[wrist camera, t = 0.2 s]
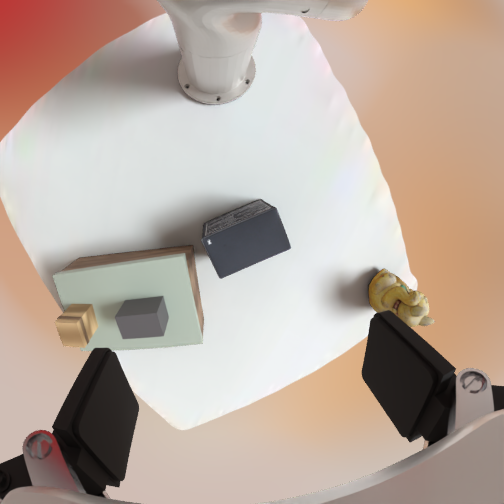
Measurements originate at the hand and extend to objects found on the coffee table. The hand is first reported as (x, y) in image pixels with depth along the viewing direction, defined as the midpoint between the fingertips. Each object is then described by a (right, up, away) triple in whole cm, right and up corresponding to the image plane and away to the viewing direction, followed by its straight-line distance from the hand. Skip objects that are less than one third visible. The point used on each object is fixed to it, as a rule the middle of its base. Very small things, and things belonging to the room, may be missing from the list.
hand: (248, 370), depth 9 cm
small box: (-2, +8, +36) cm, 37 cm away
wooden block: (-26, -6, +27) cm, 38 cm away
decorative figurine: (+27, -3, +43) cm, 51 cm away
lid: (-19, -4, +29) cm, 35 cm away
